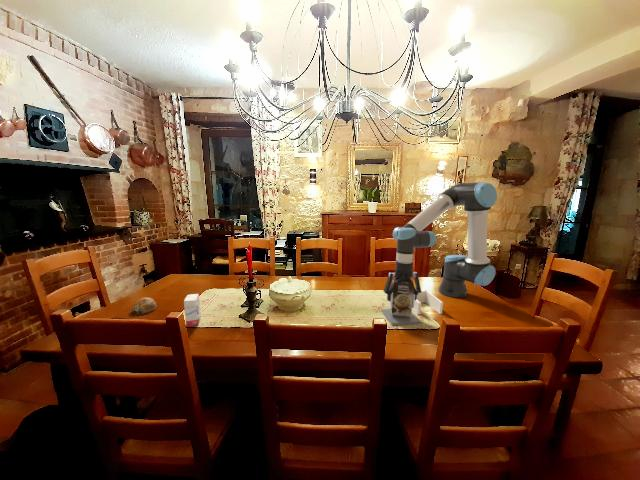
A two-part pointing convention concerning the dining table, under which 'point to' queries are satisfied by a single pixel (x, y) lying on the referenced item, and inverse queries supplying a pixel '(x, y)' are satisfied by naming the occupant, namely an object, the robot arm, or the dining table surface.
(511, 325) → the dining table surface
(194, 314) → the ink box
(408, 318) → the slate pad
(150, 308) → the grey brown rock
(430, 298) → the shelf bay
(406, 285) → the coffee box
